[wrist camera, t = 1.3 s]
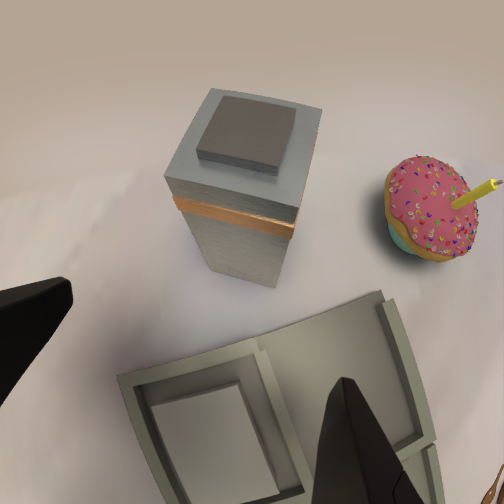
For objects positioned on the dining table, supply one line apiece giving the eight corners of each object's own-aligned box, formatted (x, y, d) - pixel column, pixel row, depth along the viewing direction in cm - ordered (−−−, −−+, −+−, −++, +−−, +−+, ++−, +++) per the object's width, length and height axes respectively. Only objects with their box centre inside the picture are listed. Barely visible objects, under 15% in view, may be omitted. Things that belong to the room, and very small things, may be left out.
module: (275, 289, 22) (302, 200, 9) (210, 270, 23) (157, 167, 10) (292, 228, 24) (326, 99, 11) (230, 211, 24) (209, 77, 11)
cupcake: (457, 265, 23) (548, 210, 11) (382, 286, 22) (475, 226, 11) (427, 183, 25) (491, 103, 14) (353, 190, 25) (405, 90, 14)
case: (242, 599, 12) (240, 622, 8) (129, 373, 20) (105, 376, 16) (438, 527, 14) (458, 542, 10) (375, 292, 22) (397, 279, 18)
